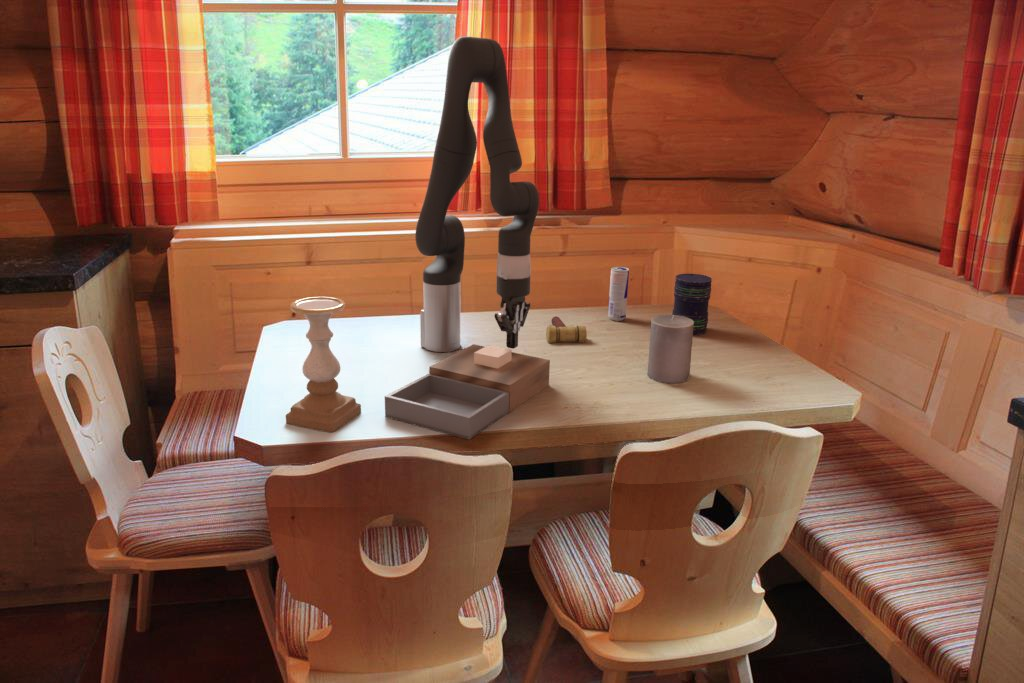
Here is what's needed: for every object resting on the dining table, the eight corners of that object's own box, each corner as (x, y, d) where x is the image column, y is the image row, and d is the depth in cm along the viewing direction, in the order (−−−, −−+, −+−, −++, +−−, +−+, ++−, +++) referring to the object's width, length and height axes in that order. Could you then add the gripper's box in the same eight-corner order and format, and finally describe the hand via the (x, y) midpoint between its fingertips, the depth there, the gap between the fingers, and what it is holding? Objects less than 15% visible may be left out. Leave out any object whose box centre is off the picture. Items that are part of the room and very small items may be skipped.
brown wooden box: (429, 392, 174) (429, 366, 172) (473, 368, 189) (473, 344, 187) (509, 412, 165) (510, 385, 163) (548, 385, 180) (549, 360, 178)
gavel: (536, 310, 226) (571, 310, 228) (536, 326, 228) (570, 325, 229) (549, 328, 206) (587, 327, 208) (548, 345, 208) (586, 344, 209)
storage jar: (710, 336, 217) (716, 282, 212) (674, 335, 217) (678, 281, 212) (702, 325, 226) (707, 273, 222) (667, 324, 226) (672, 273, 222)
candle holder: (284, 423, 157) (276, 306, 150) (316, 403, 167) (310, 293, 159) (332, 433, 154) (326, 313, 146) (362, 412, 163) (357, 299, 156)
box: (385, 416, 161) (384, 396, 160) (428, 392, 174) (428, 373, 172) (469, 439, 152) (469, 418, 151) (508, 412, 165) (509, 392, 163)
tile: (474, 363, 175) (474, 352, 174) (488, 355, 180) (488, 345, 179) (497, 368, 172) (497, 357, 171) (511, 360, 177) (511, 349, 176)
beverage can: (628, 318, 231) (632, 267, 226) (621, 322, 227) (624, 271, 222) (612, 315, 234) (615, 265, 229) (604, 319, 230) (607, 268, 225)
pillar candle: (663, 366, 193) (667, 306, 189) (697, 376, 187) (703, 315, 182) (638, 376, 187) (642, 314, 182) (673, 387, 180) (678, 324, 176)
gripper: (513, 265, 184) (511, 337, 190) (483, 276, 173) (483, 352, 179) (542, 269, 181) (539, 342, 186) (514, 281, 170) (512, 358, 175)
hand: (512, 347), depth 183 cm, fingers closed
